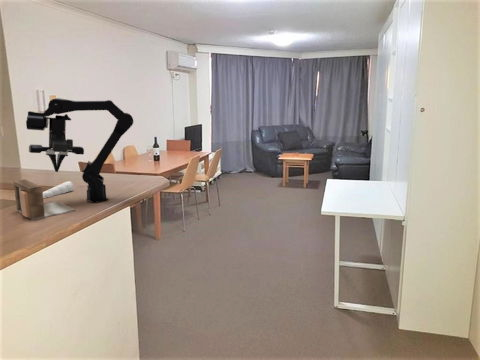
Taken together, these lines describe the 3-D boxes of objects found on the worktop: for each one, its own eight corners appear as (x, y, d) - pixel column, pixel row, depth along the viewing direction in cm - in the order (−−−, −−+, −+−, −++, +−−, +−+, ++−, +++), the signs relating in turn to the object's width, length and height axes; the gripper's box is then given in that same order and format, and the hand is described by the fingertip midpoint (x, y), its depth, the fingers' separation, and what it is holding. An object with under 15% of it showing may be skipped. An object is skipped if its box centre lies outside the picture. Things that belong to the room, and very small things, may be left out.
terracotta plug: (40, 211, 140) (37, 188, 138) (44, 213, 137) (42, 190, 135) (22, 214, 135) (19, 191, 134) (26, 217, 133) (23, 193, 131)
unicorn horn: (16, 203, 153) (14, 191, 152) (67, 190, 174) (66, 180, 173) (23, 204, 151) (22, 193, 150) (74, 192, 171) (73, 181, 170)
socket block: (58, 202, 153) (55, 175, 151) (75, 210, 143) (72, 181, 141) (16, 210, 142) (13, 181, 140) (32, 220, 133) (29, 188, 130)
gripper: (32, 130, 136) (32, 174, 138) (87, 133, 146) (86, 174, 148) (28, 129, 145) (28, 170, 147) (81, 132, 156) (80, 171, 157)
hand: (56, 171), depth 150 cm, fingers closed
